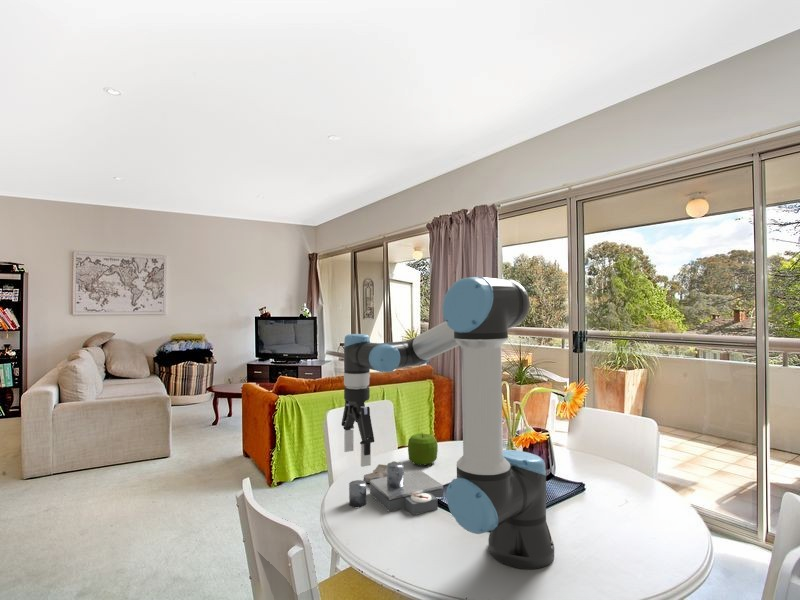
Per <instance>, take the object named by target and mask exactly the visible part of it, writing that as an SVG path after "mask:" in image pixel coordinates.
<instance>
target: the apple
mask: <svg viewBox="0 0 800 600" xmlns="http://www.w3.org/2000/svg"><path fill="white" fill-rule="evenodd" d="M438 448H439V447H438V441H437V439H436V437H435V436H434V435H432V434H429V433H423V432H422V433H416V434H412V435H411V436H410V437H409V438H408V442H407V451H408V452H407V453H408V459H409V461H410V462H411V463H413V464H414V465H416V466H427V465H430V464H432V463H433V462H435V461H436V460H437V459H438V453H439V451H438V450H439V449H438Z"/></svg>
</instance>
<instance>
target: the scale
mask: <svg viewBox="0 0 800 600" xmlns="http://www.w3.org/2000/svg"><path fill="white" fill-rule="evenodd" d="M369 494H370V495H371V496H372V497H373V499H375V500H376V501H377V502H378V503H379V504H380V505H381V506H383V507H384V508H385V509H386V510H387V512H394V511H398V510H404V509H405V510H406V511H408V512H409V513H410V514H411V515H412V516H415V515H420V514H424V513H427V512H432V511H435V510H438V507H439V505H438V501H439V500H438V499H437V498H436V497H443V498H444V488H441V489H436V490H432V491H427V492H423V493H419V494H414V495H410V496H405V497H401V498H396V499H392V500H389V499H387V498H386V497H385V496H384V495H383V494H382V493H381V492H380V491H378V490H377V489H376V488H375V487H374V486H373V485H372V484H371V483H369Z"/></svg>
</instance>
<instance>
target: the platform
mask: <svg viewBox="0 0 800 600" xmlns="http://www.w3.org/2000/svg"><path fill="white" fill-rule="evenodd" d="M369 484H372V485H373V486H374V487H375V488H376V489H377V490H378V491H380V492H381V493H382V494H383V495H384V496H385V497H386V498H387V499H389V500H392V499H396V498H401V497H405V496H410V495H414V494H419V493H423V492H427V491H432V490H436V489H441V488H442V489H444V485H443V484H442V483H441V482H439V481H438V480H436V479H434V478H433V477H431V476H430V475H428V474H427V473H425V472H424V471H423V470H414V471H409V472H405V473H404V485H403V487H400V488H390V487H388V486H387V477H384V478H379V479H373V480H370V483H369Z"/></svg>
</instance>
